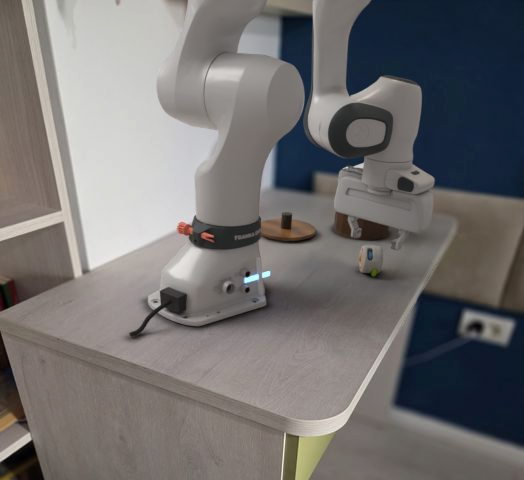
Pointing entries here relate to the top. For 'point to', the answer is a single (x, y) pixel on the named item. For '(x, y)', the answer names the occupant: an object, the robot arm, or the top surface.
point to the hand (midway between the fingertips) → (375, 242)
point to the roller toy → (371, 259)
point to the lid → (287, 228)
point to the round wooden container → (368, 227)
